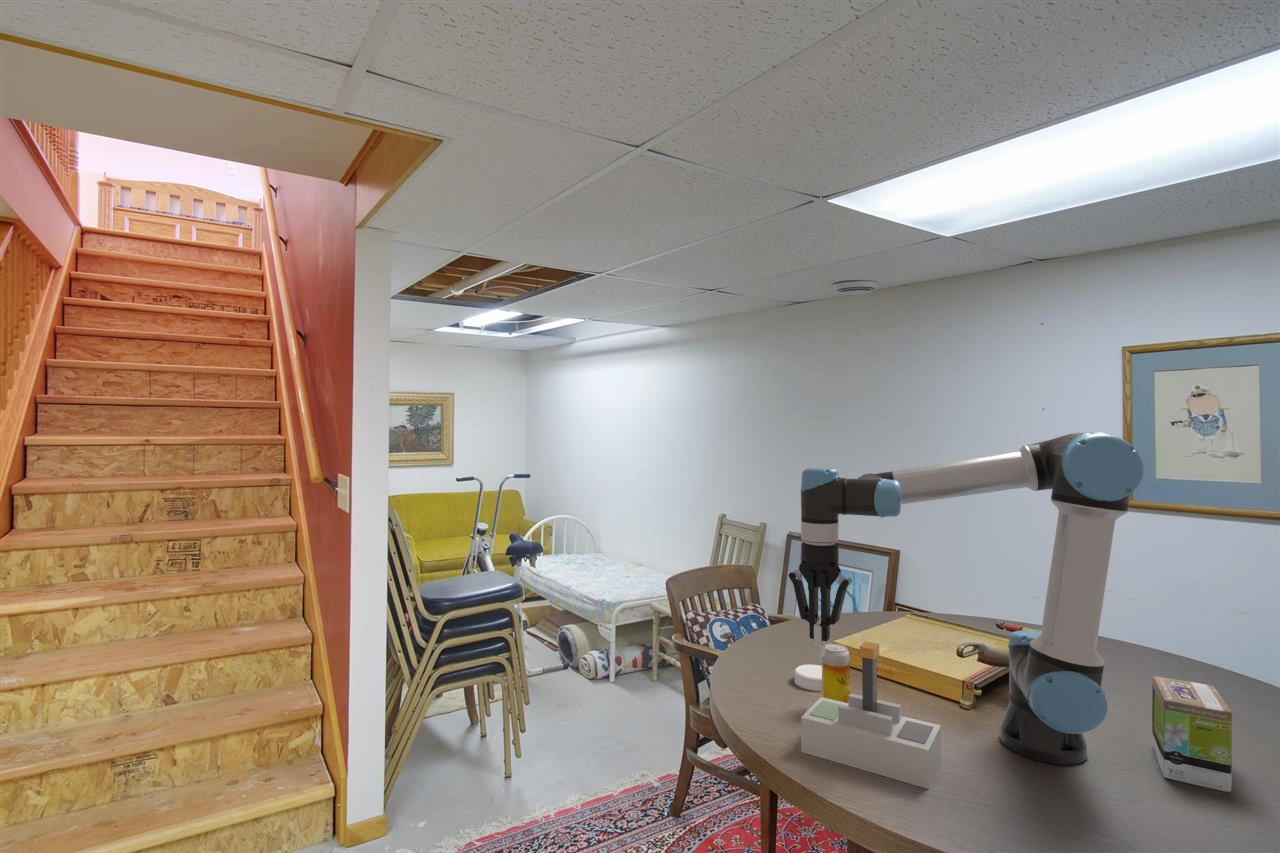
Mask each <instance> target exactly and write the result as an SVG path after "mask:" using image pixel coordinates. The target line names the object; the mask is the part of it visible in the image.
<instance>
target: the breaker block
mask: <svg viewBox="0 0 1280 853" xmlns="http://www.w3.org/2000/svg"><path fill="white" fill-rule="evenodd" d="M800 752H801V753H804V754H806V755H807V754H808V755H811V756H814V757H818V758H821V759H824V760H828V761H831V762H833V763H834V762H835V763H837V764H841V765H846V766H847V767H852V768H856V769H857V770H858V769H859V770H861V771H865V772H869V773H872V774H875V775H876V774H877V775H879V776H883V777H886V778H889V779H894V780H896V781H900V782H903V783H906V784H910V785H914V786H917V787H920V788H924V789H926V790H930V787H931V785H932V782H933V781H934V778H935V776H936V774H937V772H938V770H939V768H940V765H941V762H942V725H941V724H937V723H933V722H929V721H924V720H920V719H915V718H912V717H907V716H903V715H902V704H899V703H895V702H890V701H887V700H882V699H877V713H874V712H870V711H866V710H863V695H860V694H855V693H850V695H849V696H848V703H844V702H840V701H836V700H832V699H827V698H823V697H822V696H821V697H819V698H818V700H816V701H815V703H814V704H813V705H811V706H810V707H809V708H808V709H807V710H806V711H805V712H804V714H802V715H801V717H800Z"/></svg>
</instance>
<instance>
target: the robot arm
mask: <svg viewBox="0 0 1280 853" xmlns="http://www.w3.org/2000/svg"><path fill="white" fill-rule="evenodd" d="M1142 459H1143V458H1141V455H1140V454H1139V451H1137V450H1136V448H1135V447H1134V446H1133V445H1132V444H1131V443H1130V442H1128V441H1126V440H1125V439H1123V438H1122V437H1118V436H1116V435H1112V434H1109V433H1105V432H1093V431H1090V432H1075V433H1073V432H1072V433H1069V434H1065V435H1061V436H1058V437H1054V438H1051V439H1047V440H1043V441H1040V442H1039V441H1038V442H1035V443H1030V444H1029V443H1028V444H1023V445H1021V447H1020V448H1019V450H1017V451H1012V452H1011V451H1010V452H1009V451H1008V452H1005V453H998V454H991V455H985V456H981V457H972V458H967V459H966V458H965V459H960V460H954V461H947V462H941V463H935V464H929V465H922V466H916V467H909V468H904V469H896V470H892V471H885V472H879V473H873V472H872V473H865V474H862V475H861V476H859V477H858V478H845V477H844V478H843V477H840V474H839V471H838V469H837V468H831V467H807V468H805V469H804V470H803V471H802V473H801V483H800V484H801V487H800V488H801V489H800V511H801V512H800V514H801V515H800V516H801V519H800V520H801V521H800V524H801V525H800V526H801V527H800V539H801V540H802V541H803V542H801V543H800V564H799V565H798V569H796V570H793V571H791V572H789V573H788V579H790V581H791V583H792V585H793V588H794V590H793V591H794V593H795V598H796V603H797V607H798V611H799V612H798V613H799V616H800V619H801V620H805V621H806V622H808V624H809V638H810V640H811V639H812V640H813V657H815V658H819V659H822V657H823V656H824V655H825V645H826V642H827V641H829V640H830V638H831V637H830V634H831V632H830V631H831V628H830V626H833V625H835V624H837V623H838V622H839V621H840V616H841V613H842V610H843V606H844V602H845V598H846V593H847V590H848V588H849V587H850V585H851V584H852V582H853V580H852V578H850V577H847V576H845V575H844V574H843V573H842V572H841V571H842V570H841V568H840V566H839V544H838V543H837V542H838V541H839V515H843V516H847V515H851V516H864V517H865V516H868V517H869V516H870V517H879V518H885V517H898V516H899V515H900V514H901V507H902V506H901V505H909V504H915V503H922V502H929V501H936V500H942V499H949V498H950V499H952V498H958V497H965V496H974V495H980V494H987V493H994V492H995V493H996V492H1001V491H1009V490H1010V491H1011V490H1017V489H1024V488H1028V489H1029V490H1032V491H1033V492H1037V491H1046V490H1051V497H1050V501H1051V502H1052V504H1053V505H1054V506H1055V507H1056V509H1057V510H1058V516H1057V522H1056V529H1055V535H1054V543H1053V550H1052V556H1051V563H1050V570H1049V576H1048V583H1047V589H1046V590H1047V591H1046V598H1045V604H1044V611H1043V617H1042V624H1041V631H1037V630H1015V631H1013V632H1011V633H1010V634H1009V638H1008V643H1007V648H1008V659H1009V660H1008V663H1009V664H1008V675H1009V676H1008V677H1009V678H1008V680H1009V681H1008V684H1009V687H1008V688H1009V689H1008V690H1009V694H1008V696H1009V700H1008V701H1009V702H1008V705H1007V707H1006V710H1005V713H1004V715H1003V719H1002V720H1001V723H1000V727H999V734H1000V735H999V739H1000V741H1001V743H1002V744H1003V745H1004V746H1005V747H1007V748H1008V749H1010V750H1011V751H1012V752H1014V753H1016V754H1019V755H1020V756H1023V757H1025V758H1028V759H1032V760H1034V761H1038V762H1042V763H1046V764H1053V765H1064V766H1065V765H1068V766H1069V765H1076V764H1082V763H1083V762H1085V761H1086V760H1087V758H1088V745H1087V742H1086V738H1085V736H1084V734H1085V733H1087V732H1090V731H1092V730H1094V729H1096V728H1098V727H1099V726H1100V725H1101V724H1102V723H1103V722H1104V720H1105V719H1106V717H1107V716H1106V715H1107V713H1108V700H1107V697H1106V694H1105V692H1104V690H1103V688H1102V681H1103V676H1104V668H1105V659H1104V658H1103V657H1102V656H1101V655H1100V654H1099V652H1098V651H1097V644H1098V639H1099V638H1098V637H1099V633H1100V632H1099V631H1100V623H1101V617H1102V611H1103V605H1104V599H1105V598H1104V596H1105V592H1106V585H1107V578H1108V571H1109V564H1110V559H1111V558H1110V557H1111V551H1112V546H1113V539H1114V531H1115V524H1116V520H1118V519H1119V518H1121V517H1122V516H1124V515H1126V514H1127V513H1128V510H1129V504H1130V497H1131V494H1132V493H1133V492H1135V491H1136V490H1137V489H1138V488H1139V486H1140V485H1141V483H1142V480H1143V477H1144V463H1143V460H1142ZM803 578H804V580H805V582H806V583H807V591H808V599H807V594H806V590H805V587H804V582H803ZM836 580H837V585H838V588H837V589H836V594H835V597H834V602H833V605H832V609H831V591H832V586H833V584H834V583H835V582H836ZM819 591H820V617H819ZM819 620H820V621H819Z"/></svg>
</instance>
